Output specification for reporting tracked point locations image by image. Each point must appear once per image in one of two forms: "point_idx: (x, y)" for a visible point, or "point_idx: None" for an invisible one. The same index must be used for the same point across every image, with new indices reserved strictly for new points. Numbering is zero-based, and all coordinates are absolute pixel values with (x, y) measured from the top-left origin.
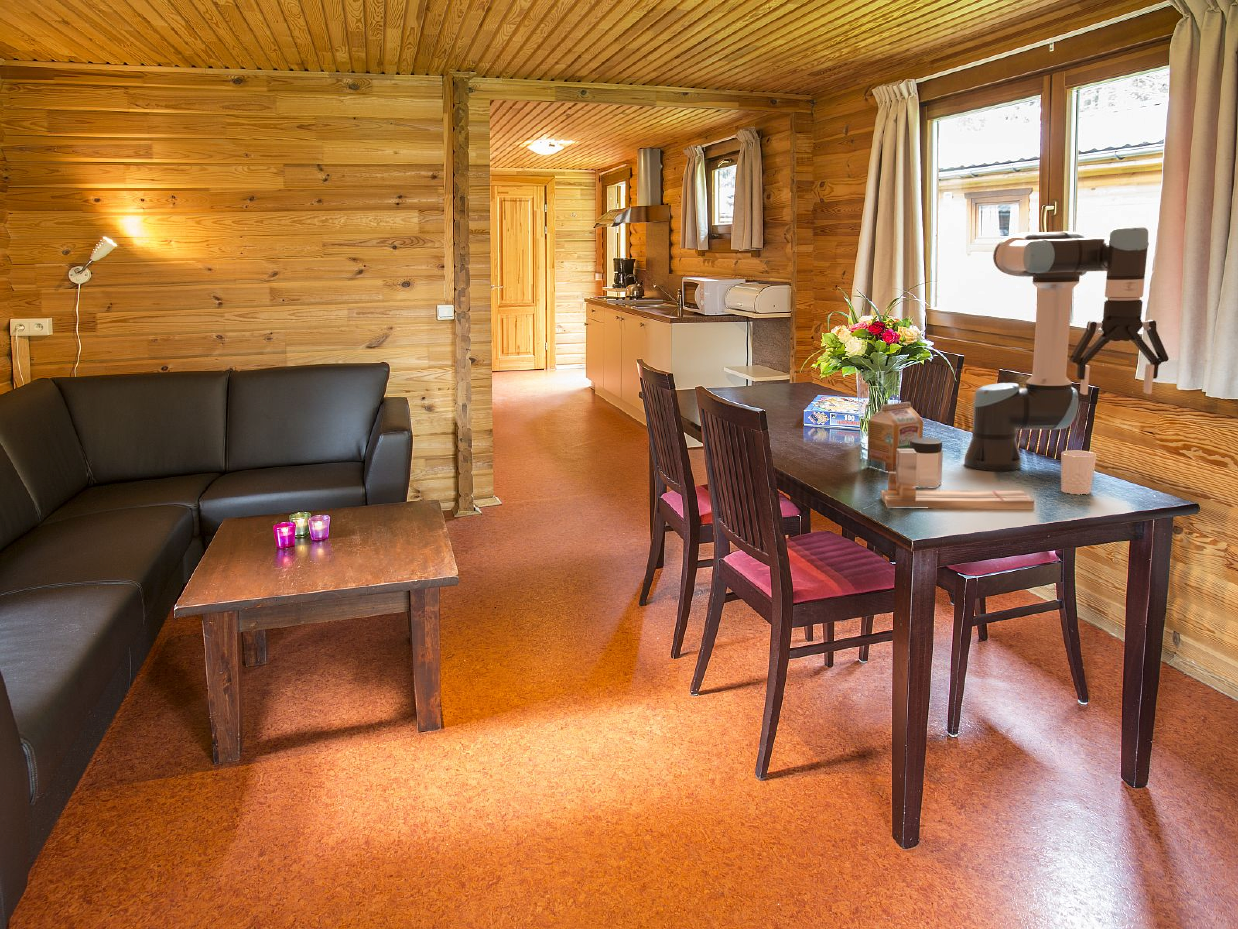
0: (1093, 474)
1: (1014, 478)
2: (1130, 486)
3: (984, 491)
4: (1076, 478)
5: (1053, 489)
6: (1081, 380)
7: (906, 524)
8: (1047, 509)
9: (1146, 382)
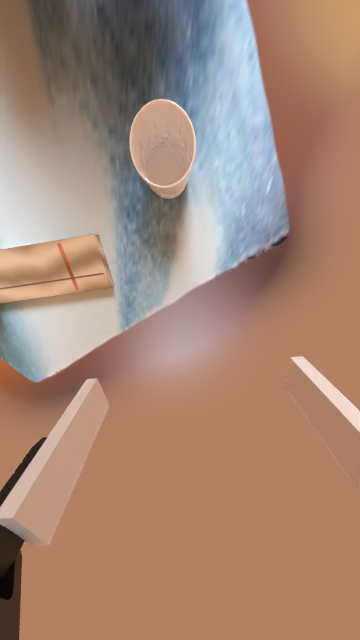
0: (190, 173)
1: (73, 60)
2: (261, 109)
3: (48, 246)
4: (162, 195)
5: None
6: (62, 423)
7: (14, 351)
8: (128, 282)
9: (313, 404)
